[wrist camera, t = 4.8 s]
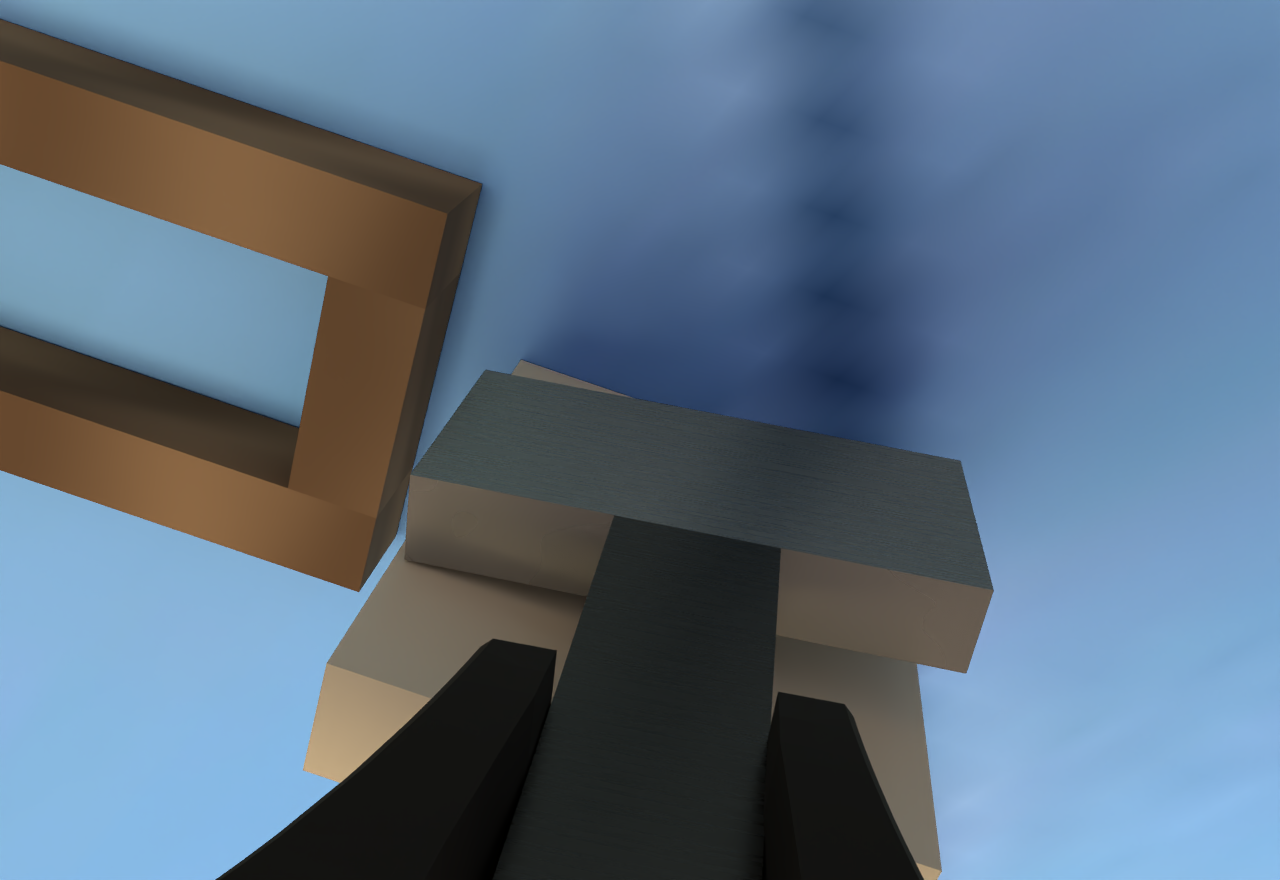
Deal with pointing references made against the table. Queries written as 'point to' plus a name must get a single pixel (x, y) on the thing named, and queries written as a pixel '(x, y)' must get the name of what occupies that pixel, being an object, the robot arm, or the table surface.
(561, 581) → the turner
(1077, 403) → the table surface
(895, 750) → the tile
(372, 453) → the frame
